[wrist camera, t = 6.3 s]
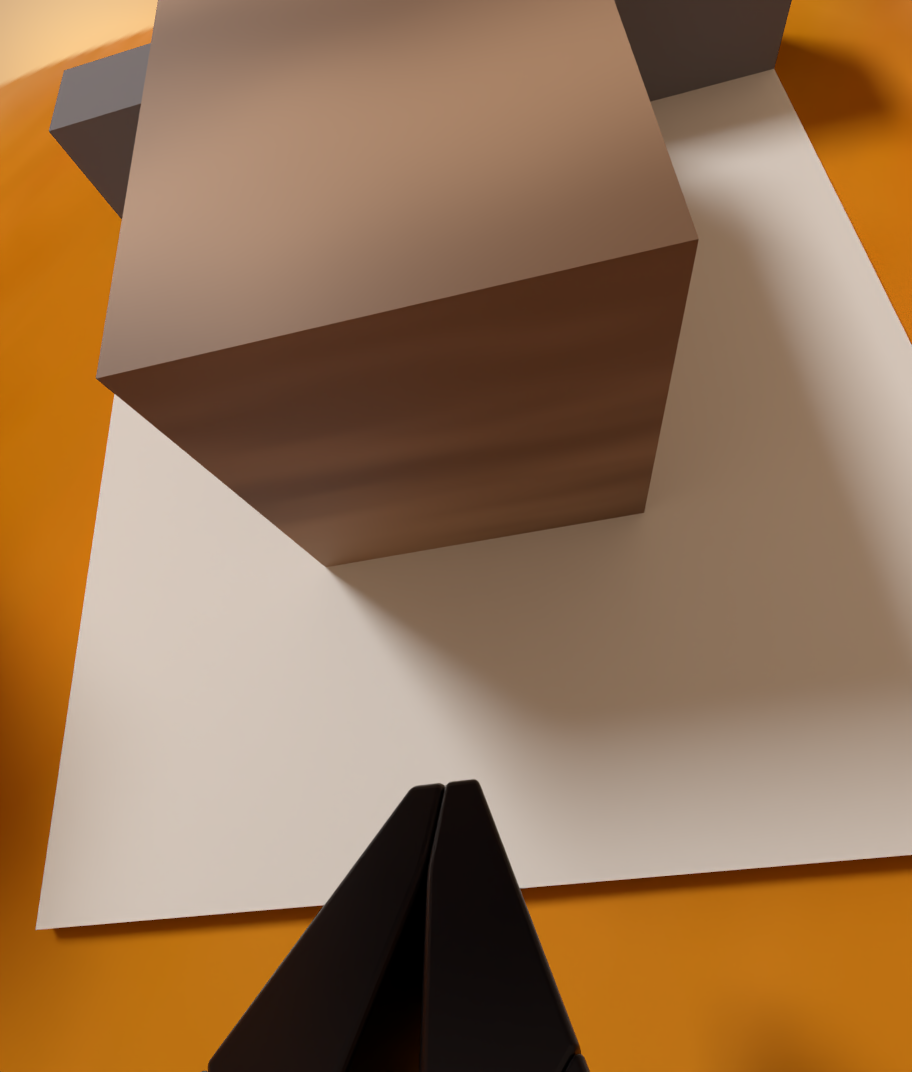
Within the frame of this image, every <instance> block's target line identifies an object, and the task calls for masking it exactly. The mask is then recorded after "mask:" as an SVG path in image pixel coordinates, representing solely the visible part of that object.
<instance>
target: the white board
mask: <svg viewBox="0 0 912 1072" xmlns="http://www.w3.org/2000/svg"><path fill="white" fill-rule="evenodd" d="M614 1H615V4H616V7H617V10H618V12H619V15H620V18H621V21H622V24H623V27H624V29H625V32H626V35H627V38H628V41H629V43H630V46H631V49H632V52H633V55H634V58H635V60H636V63H637V66H638V69H639V72H640V74H641V77H642V80H643V83H644V86H645V89H646V91H647V94H648V97H649V100H650V103H651V105H652V108H653V111H654V114H655V117H656V120H657V122H658V125H659V128H660V131H661V134H662V136H663V139H664V142H665V145H666V148H667V151H668V153H669V156H670V159H671V162H672V165H673V167H674V170H675V173H676V176H677V179H678V182H679V184H680V187H681V190H682V193H683V196H684V198H685V201H686V204H687V207H688V210H689V213H690V215H691V218H692V221H693V224H694V227H695V229H696V232H697V235H698V238H699V240H698V245H697V250H696V255H695V260H694V266H693V271H692V276H691V281H690V286H689V291H688V296H687V301H686V306H685V311H684V316H683V321H682V326H681V331H680V336H679V341H678V346H677V351H676V356H675V361H674V366H673V371H672V376H671V381H670V386H669V391H668V396H667V401H666V406H665V411H664V416H663V421H662V426H661V431H660V436H659V441H658V446H657V451H656V456H655V461H654V466H653V471H652V476H651V481H650V486H649V491H648V496H647V501H646V506H645V511H644V513H640V514H635V515H629V516H623V517H617V518H611V519H605V520H599V521H594V522H588V523H582V524H576V525H570V526H564V527H558V528H553V529H547V530H541V531H535V532H529V533H523V534H517V535H512V536H506V537H500V538H494V539H488V540H482V541H476V542H471V543H465V544H459V545H453V546H447V547H441V548H435V549H430V550H424V551H418V552H412V553H406V554H400V555H394V556H389V557H383V558H377V559H371V560H365V561H359V562H353V563H348V564H342V565H336V566H330V567H325V566H323V565H322V564H321V563H320V562H319V561H317V560H316V559H315V558H314V557H312V556H311V555H310V554H309V553H308V552H306V551H305V550H304V549H303V548H301V547H300V546H299V545H298V544H297V543H295V542H294V541H293V540H292V539H291V538H289V537H288V536H287V535H286V534H284V533H283V532H282V531H281V530H280V529H278V528H277V527H276V526H275V525H274V524H272V523H271V522H270V521H269V520H267V519H266V518H265V517H264V516H263V515H261V514H260V513H259V512H258V511H256V510H255V509H254V508H253V507H252V506H250V505H249V504H248V503H247V502H246V501H244V500H243V499H242V498H241V497H239V496H238V495H237V494H236V493H235V492H233V491H232V490H231V489H230V488H229V487H227V486H226V485H225V484H224V483H222V482H221V481H220V480H219V479H218V478H216V477H215V476H214V475H213V474H212V473H210V472H209V471H208V470H207V469H205V468H204V467H203V466H202V465H201V464H199V463H198V462H197V461H196V460H194V459H193V458H192V457H191V456H190V455H188V454H187V453H186V452H185V451H184V450H182V449H181V448H180V447H179V446H177V445H176V444H175V443H174V442H173V441H171V440H170V439H169V438H168V437H167V436H165V435H164V434H163V433H162V432H160V431H159V430H158V429H157V428H156V427H154V426H153V425H152V424H151V423H149V422H148V421H147V420H146V419H145V418H143V417H142V416H141V415H140V414H139V413H137V412H136V411H135V410H134V409H132V408H131V407H130V406H129V405H128V404H126V403H125V402H124V401H123V400H122V399H120V398H119V397H118V396H117V395H115V394H114V401H113V408H112V415H111V421H110V428H109V435H108V442H107V448H106V455H105V462H104V469H103V476H102V482H101V489H100V496H99V503H98V509H97V516H96V523H95V530H94V537H93V543H92V550H91V557H90V564H89V570H88V577H87V584H86V591H85V598H84V604H83V611H82V618H81V625H80V631H79V638H78V645H77V652H76V659H75V665H74V672H73V679H72V686H71V692H70V699H69V706H68V713H67V720H66V726H65V733H64V740H63V747H62V753H61V760H60V767H59V774H58V781H57V787H56V794H55V801H54V808H53V814H52V821H51V828H50V835H49V842H48V848H47V855H46V862H45V869H44V875H43V882H42V889H41V896H40V903H39V909H38V916H37V923H36V930H39V929H51V928H62V927H74V926H86V925H97V924H109V923H121V922H132V921H144V920H156V919H168V918H179V917H191V916H203V915H214V914H226V913H238V912H249V911H261V910H273V909H284V908H296V907H308V906H319V905H325V903H326V902H327V901H328V899H329V898H330V897H331V895H332V894H333V893H334V891H335V890H336V889H337V887H338V886H339V884H340V883H341V882H342V880H343V879H344V878H345V876H346V875H347V874H348V872H349V871H350V870H351V868H352V867H353V865H354V864H355V863H356V861H357V860H358V859H359V857H360V856H361V855H362V853H363V852H364V851H365V849H366V848H367V846H368V845H369V844H370V842H371V841H372V840H373V838H374V837H375V836H376V834H377V833H378V832H379V830H380V829H381V827H382V826H383V825H384V823H385V822H386V821H387V819H388V818H389V817H390V815H391V814H392V813H393V811H394V810H395V809H396V807H397V806H398V804H399V803H400V802H401V800H402V799H403V798H404V796H405V795H406V794H407V792H408V791H409V790H410V789H411V788H412V787H414V786H417V785H426V784H435V783H441V784H443V785H445V786H446V785H447V784H448V783H449V782H452V781H461V780H470V779H476V780H477V781H478V782H479V783H480V785H481V788H482V790H483V793H484V796H485V798H486V801H487V804H488V806H489V809H490V811H491V814H492V817H493V819H494V822H495V825H496V827H497V830H498V833H499V835H500V838H501V840H502V843H503V846H504V848H505V851H506V854H507V856H508V859H509V861H510V864H511V867H512V869H513V872H514V875H515V877H516V880H517V883H518V885H519V888H530V887H541V886H553V885H565V884H577V883H588V882H600V881H612V880H623V879H635V878H647V877H658V876H670V875H682V874H693V873H705V872H717V871H728V870H740V869H752V868H763V867H775V866H787V865H799V864H810V863H822V862H834V861H845V860H857V859H869V858H880V857H892V856H904V855H912V345H911V343H910V341H909V339H908V337H907V335H906V333H905V331H904V329H903V327H902V325H901V323H900V321H899V319H898V317H897V315H896V313H895V311H894V309H893V307H892V305H891V303H890V301H889V299H888V297H887V295H886V293H885V291H884V289H883V287H882V285H881V283H880V281H879V279H878V277H877V275H876V272H875V270H874V268H873V266H872V264H871V262H870V260H869V258H868V256H867V254H866V252H865V250H864V248H863V246H862V244H861V242H860V240H859V238H858V236H857V234H856V232H855V230H854V228H853V226H852V224H851V222H850V220H849V218H848V216H847V214H846V212H845V210H844V208H843V206H842V204H841V202H840V200H839V198H838V196H837V194H836V192H835V190H834V188H833V186H832V184H831V182H830V180H829V178H828V176H827V174H826V172H825V170H824V168H823V166H822V164H821V162H820V160H819V158H818V156H817V154H816V152H815V150H814V148H813V146H812V144H811V142H810V140H809V138H808V136H807V134H806V132H805V130H804V128H803V126H802V124H801V122H800V120H799V118H798V116H797V114H796V112H795V110H794V108H793V106H792V104H791V102H790V100H789V98H788V96H787V94H786V92H785V90H784V88H783V86H782V84H781V82H780V80H779V78H778V76H777V74H776V72H775V70H774V67H775V63H776V59H777V55H778V51H779V47H780V44H781V40H782V36H783V32H784V28H785V24H786V20H787V16H788V12H789V9H790V5H791V1H792V0H614ZM150 46H151V43H150V44H147V45H143V46H140V47H137V48H134V49H131V50H128V51H124V52H121V53H118V54H115V55H112V56H109V57H106V58H102V59H99V60H96V61H93V62H90V63H87V64H83V65H80V66H77V67H74V68H71V69H68V70H65V71H64V73H63V77H62V81H61V85H60V89H59V93H58V97H57V101H56V105H55V109H54V113H53V117H52V121H51V125H50V129H49V132H50V133H51V134H52V136H53V137H54V138H55V139H56V140H57V142H58V143H59V144H60V145H61V146H62V148H63V149H64V150H65V151H66V152H67V154H68V155H69V156H70V157H71V159H72V160H73V161H74V162H75V163H76V165H77V166H78V167H79V168H80V169H81V171H82V172H83V173H84V174H85V175H86V177H87V178H88V179H89V180H90V181H91V183H92V184H93V185H94V186H95V188H96V189H97V190H98V191H99V192H100V194H101V195H102V196H103V197H104V198H105V200H106V201H107V202H108V203H109V204H110V206H111V207H112V208H113V209H114V210H115V212H116V213H117V214H118V215H119V216H120V218H121V219H122V217H123V211H124V205H125V199H126V193H127V187H128V180H129V174H130V168H131V162H132V156H133V150H134V144H135V138H136V132H137V126H138V120H139V113H140V107H141V101H142V95H143V89H144V83H145V77H146V71H147V65H148V59H149V53H150Z"/></svg>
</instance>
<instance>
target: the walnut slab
mask: <svg viewBox="0 0 912 1072" xmlns="http://www.w3.org/2000/svg"><path fill="white" fill-rule="evenodd" d="M698 240H699V238H698V235H697V232H696V229H695V227H694V224H693V221H692V218H691V215H690V213H689V210H688V207H687V204H686V201H685V198H684V196H683V193H682V190H681V187H680V184H679V182H678V179H677V176H676V173H675V170H674V167H673V165H672V162H671V159H670V156H669V153H668V151H667V148H666V145H665V142H664V139H663V136H662V134H661V131H660V128H659V125H658V122H657V120H656V117H655V114H654V111H653V108H652V105H651V103H650V100H649V97H648V94H647V91H646V89H645V86H644V83H643V80H642V77H641V74H640V72H639V69H638V66H637V63H636V60H635V58H634V55H633V52H632V49H631V46H630V43H629V41H628V38H627V35H626V32H625V29H624V27H623V24H622V21H621V18H620V15H619V12H618V10H617V7H616V4H615V1H614V0H158V4H157V10H156V16H155V22H154V28H153V34H152V40H151V46H150V53H149V59H148V65H147V71H146V77H145V83H144V89H143V95H142V101H141V107H140V113H139V120H138V126H137V132H136V138H135V144H134V150H133V156H132V162H131V168H130V174H129V180H128V187H127V193H126V199H125V205H124V211H123V217H122V223H121V229H120V235H119V241H118V247H117V254H116V260H115V266H114V272H113V278H112V284H111V290H110V296H109V302H108V308H107V315H106V321H105V327H104V333H103V339H102V345H101V351H100V357H99V363H98V369H97V375H96V379H97V380H98V381H100V382H101V383H102V384H103V385H105V386H106V387H107V388H108V389H109V390H111V391H112V392H113V393H114V394H115V395H117V396H118V397H119V398H120V399H122V400H123V401H124V402H125V403H126V404H128V405H129V406H130V407H131V408H132V409H134V410H135V411H136V412H137V413H139V414H140V415H141V416H142V417H143V418H145V419H146V420H147V421H148V422H149V423H151V424H152V425H153V426H154V427H156V428H157V429H158V430H159V431H160V432H162V433H163V434H164V435H165V436H167V437H168V438H169V439H170V440H171V441H173V442H174V443H175V444H176V445H177V446H179V447H180V448H181V449H182V450H184V451H185V452H186V453H187V454H188V455H190V456H191V457H192V458H193V459H194V460H196V461H197V462H198V463H199V464H201V465H202V466H203V467H204V468H205V469H207V470H208V471H209V472H210V473H212V474H213V475H214V476H215V477H216V478H218V479H219V480H220V481H221V482H222V483H224V484H225V485H226V486H227V487H229V488H230V489H231V490H232V491H233V492H235V493H236V494H237V495H238V496H239V497H241V498H242V499H243V500H244V501H246V502H247V503H248V504H249V505H250V506H252V507H253V508H254V509H255V510H256V511H258V512H259V513H260V514H261V515H263V516H264V517H265V518H266V519H267V520H269V521H270V522H271V523H272V524H274V525H275V526H276V527H277V528H278V529H280V530H281V531H282V532H283V533H284V534H286V535H287V536H288V537H289V538H291V539H292V540H293V541H294V542H295V543H297V544H298V545H299V546H300V547H301V548H303V549H304V550H305V551H306V552H308V553H309V554H310V555H311V556H312V557H314V558H315V559H316V560H317V561H319V562H320V563H321V564H322V565H323V566H325V567H330V566H336V565H342V564H348V563H353V562H359V561H365V560H371V559H377V558H383V557H389V556H394V555H400V554H406V553H412V552H418V551H424V550H430V549H435V548H441V547H447V546H453V545H459V544H465V543H471V542H476V541H482V540H488V539H494V538H500V537H506V536H512V535H517V534H523V533H529V532H535V531H541V530H547V529H553V528H558V527H564V526H570V525H576V524H582V523H588V522H594V521H599V520H605V519H611V518H617V517H623V516H629V515H635V514H640V513H644V511H645V506H646V501H647V496H648V491H649V486H650V481H651V476H652V471H653V466H654V461H655V456H656V451H657V446H658V441H659V436H660V431H661V426H662V421H663V416H664V411H665V406H666V401H667V396H668V391H669V386H670V381H671V376H672V371H673V366H674V361H675V356H676V351H677V346H678V341H679V336H680V331H681V326H682V321H683V316H684V311H685V306H686V301H687V296H688V291H689V286H690V281H691V276H692V271H693V266H694V260H695V255H696V250H697V245H698Z"/></svg>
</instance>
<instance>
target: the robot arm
mask: <svg viewBox="0 0 912 1072" xmlns="http://www.w3.org/2000/svg"><path fill="white" fill-rule="evenodd" d="M202 1072H207V1071H202ZM208 1072H590V1071H589V1068H588V1066H587V1063H586V1060H585V1058H584V1056H583V1055H581V1050H580V1046H579V1043H578V1040H577V1038H576V1035H575V1033H574V1030H573V1027H572V1025H571V1022H570V1019H569V1017H568V1014H567V1012H566V1009H565V1006H564V1004H563V1001H562V998H561V996H560V993H559V990H558V988H557V985H556V983H555V980H554V977H553V975H552V972H551V969H550V967H549V964H548V961H547V959H546V956H545V954H544V951H543V948H542V946H541V943H540V940H539V938H538V935H537V933H536V930H535V927H534V925H533V922H532V919H531V917H530V914H529V911H528V909H527V906H526V904H525V901H524V898H523V896H522V893H521V890H520V888H519V885H518V883H517V880H516V877H515V875H514V872H513V869H512V867H511V864H510V861H509V859H508V856H507V854H506V851H505V848H504V846H503V843H502V840H501V838H500V835H499V833H498V830H497V827H496V825H495V822H494V819H493V817H492V814H491V811H490V809H489V806H488V804H487V801H486V798H485V796H484V793H483V790H482V788H481V785H480V783H479V782H478V781H477V780H476V779H470V780H461V781H452V782H449V783H448V784H447V785H446V786H445V785H443V784H441V783H435V784H426V785H417V786H414V787H412V788H411V789H410V790H409V791H408V792H407V794H406V795H405V796H404V798H403V799H402V800H401V802H400V803H399V804H398V806H397V807H396V809H395V810H394V811H393V813H392V814H391V815H390V817H389V818H388V819H387V821H386V822H385V823H384V825H383V826H382V827H381V829H380V830H379V832H378V833H377V834H376V836H375V837H374V838H373V840H372V841H371V842H370V844H369V845H368V846H367V848H366V849H365V851H364V852H363V853H362V855H361V856H360V857H359V859H358V860H357V861H356V863H355V864H354V865H353V867H352V868H351V870H350V871H349V872H348V874H347V875H346V876H345V878H344V879H343V880H342V882H341V883H340V884H339V886H338V887H337V889H336V890H335V891H334V893H333V894H332V895H331V897H330V898H329V899H328V901H327V902H326V903H325V905H324V906H323V908H322V909H321V910H320V912H319V913H318V914H317V916H316V917H315V918H314V920H313V921H312V922H311V924H310V925H309V926H308V928H307V929H306V931H305V932H304V933H303V935H302V936H301V937H300V939H299V940H298V941H297V943H296V944H295V945H294V947H293V948H292V950H291V951H290V952H289V954H288V955H287V956H286V958H285V959H284V960H283V962H282V963H281V964H280V966H279V967H278V969H277V970H276V971H275V973H274V974H273V975H272V977H271V978H270V979H269V981H268V982H267V983H266V985H265V986H264V988H263V989H262V990H261V992H260V993H259V994H258V996H257V997H256V998H255V1000H254V1001H253V1002H252V1004H251V1005H250V1007H249V1008H248V1009H247V1011H246V1012H245V1013H244V1015H243V1016H242V1017H241V1019H240V1020H239V1021H238V1023H237V1024H236V1026H235V1027H234V1028H233V1030H232V1031H231V1032H230V1034H229V1035H228V1036H227V1038H226V1039H225V1040H224V1042H223V1043H222V1044H221V1046H220V1047H219V1049H218V1050H217V1051H216V1053H215V1054H214V1055H213V1057H212V1058H211V1059H210V1061H209V1063H208Z"/></svg>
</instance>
